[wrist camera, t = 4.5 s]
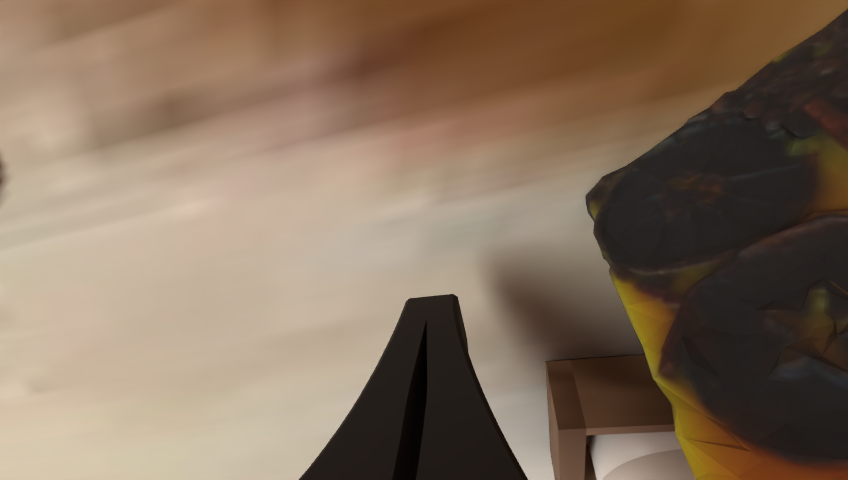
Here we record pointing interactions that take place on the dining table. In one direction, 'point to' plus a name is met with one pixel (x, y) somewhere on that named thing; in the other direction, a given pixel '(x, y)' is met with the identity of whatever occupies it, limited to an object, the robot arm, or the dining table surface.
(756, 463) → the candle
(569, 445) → the brown shallow box
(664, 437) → the dome button
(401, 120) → the dining table surface
